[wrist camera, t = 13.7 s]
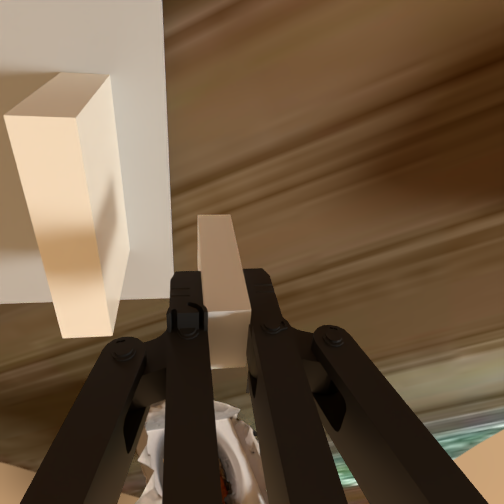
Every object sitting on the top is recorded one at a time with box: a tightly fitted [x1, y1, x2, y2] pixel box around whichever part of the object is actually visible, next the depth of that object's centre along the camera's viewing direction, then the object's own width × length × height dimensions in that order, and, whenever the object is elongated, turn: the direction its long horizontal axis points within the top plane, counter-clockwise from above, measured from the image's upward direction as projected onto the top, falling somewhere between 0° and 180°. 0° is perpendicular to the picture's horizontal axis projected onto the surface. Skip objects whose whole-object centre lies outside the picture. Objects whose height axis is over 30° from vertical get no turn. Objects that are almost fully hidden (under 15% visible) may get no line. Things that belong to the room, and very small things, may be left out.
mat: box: [0, 0, 174, 304], centre depth 23 cm, size 20×16×1 cm
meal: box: [135, 400, 269, 504], centre depth 34 cm, size 15×4×13 cm, turn 47°
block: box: [3, 72, 130, 338], centre depth 20 cm, size 11×2×8 cm, turn 176°
